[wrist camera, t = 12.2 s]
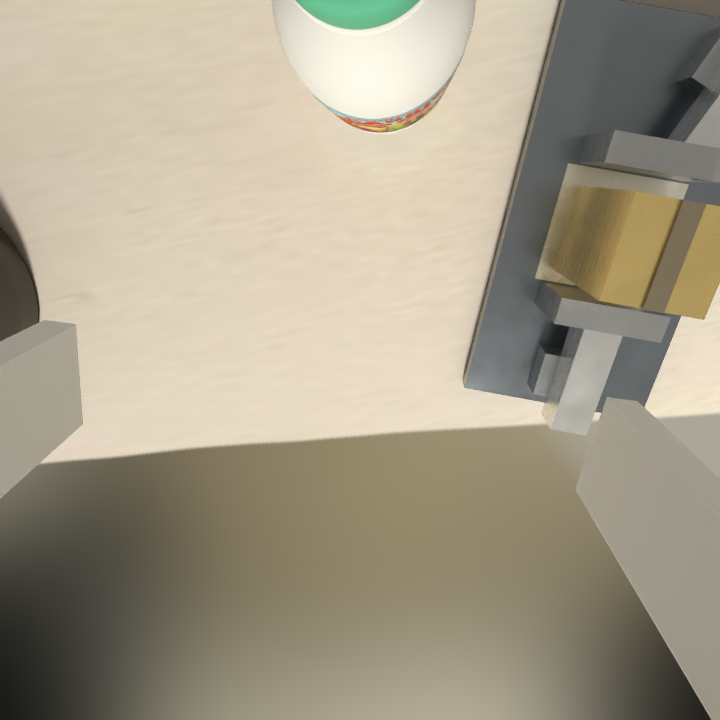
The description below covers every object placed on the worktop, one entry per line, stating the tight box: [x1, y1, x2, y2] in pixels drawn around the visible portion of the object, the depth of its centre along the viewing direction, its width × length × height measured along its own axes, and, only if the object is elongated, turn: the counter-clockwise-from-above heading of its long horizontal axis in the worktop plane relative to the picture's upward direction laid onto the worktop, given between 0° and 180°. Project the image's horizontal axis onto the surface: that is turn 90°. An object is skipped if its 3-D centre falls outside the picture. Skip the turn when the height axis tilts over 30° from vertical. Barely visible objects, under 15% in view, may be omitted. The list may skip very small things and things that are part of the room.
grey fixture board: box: [463, 0, 720, 435], centre depth 30 cm, size 12×23×6 cm, turn 171°
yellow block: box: [553, 185, 720, 320], centre depth 27 cm, size 5×5×8 cm
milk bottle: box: [272, 0, 476, 134], centre depth 21 cm, size 8×8×20 cm
